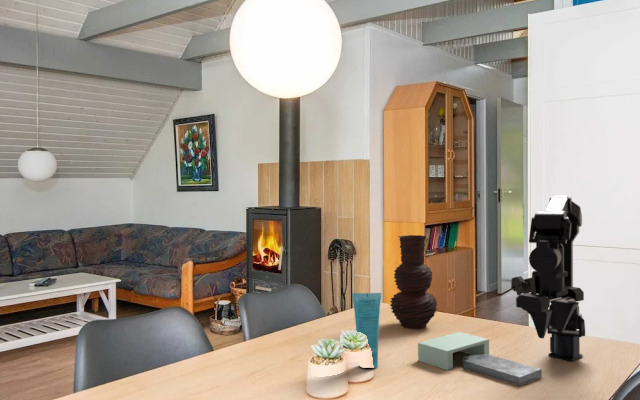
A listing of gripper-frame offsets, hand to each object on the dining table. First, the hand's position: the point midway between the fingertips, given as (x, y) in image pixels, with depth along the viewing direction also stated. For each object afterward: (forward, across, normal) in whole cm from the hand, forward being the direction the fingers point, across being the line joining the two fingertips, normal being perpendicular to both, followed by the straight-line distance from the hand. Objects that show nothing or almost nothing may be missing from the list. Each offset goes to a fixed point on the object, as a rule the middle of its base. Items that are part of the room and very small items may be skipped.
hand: (550, 335), depth 128 cm
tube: (+12, +22, -38) cm, 46 cm away
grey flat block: (+12, 0, -13) cm, 18 cm away
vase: (+12, -17, -59) cm, 63 cm away
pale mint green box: (+12, 0, -28) cm, 31 cm away
